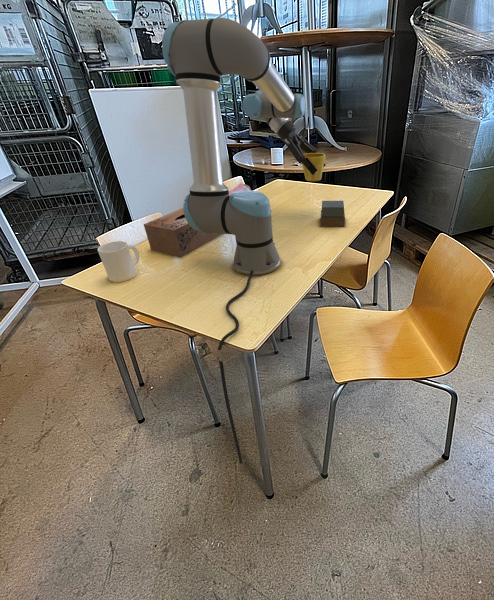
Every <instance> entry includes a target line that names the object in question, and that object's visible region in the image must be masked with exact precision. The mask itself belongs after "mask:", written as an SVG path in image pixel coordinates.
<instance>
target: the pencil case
mask: <svg viewBox="0 0 494 600" xmlns="http://www.w3.org/2000/svg"><path fill="white" fill-rule="evenodd" d="M238 190H243V191H244V190H252V189H251V187H250V186H249V185H248V184H245V183H241V182H240V183H239V184H238V185H236V187H234V188H233V189H230V190H229V196H230V194H231V193H232V192H234V191H238Z"/></svg>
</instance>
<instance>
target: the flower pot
mask: <svg viewBox="0 0 494 600" xmlns="http://www.w3.org/2000/svg"><path fill="white" fill-rule="evenodd" d="M303 154H304V156H305V158H306V157H307V158H308V159H309V160H310V162H311V163H312V164H313V165H314V166H315V167H316V169H317V172H316V173H315V174H314V175H312V174H311V173H310V171H309V170H308V169H307V168H306V167H305V166H304V164H303V163H302V162H301V163H300V165H301V166H302V171H303V174H304V178H305V181H307V182H318V181H319V182H320V181H321V180H322V177H323V171H324V167H325V166H324V164H326V154H325V153H323V152H322V153H321V152H316V153H303ZM323 166H324V167H323Z"/></svg>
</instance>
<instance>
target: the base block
mask: <svg viewBox="0 0 494 600" xmlns="http://www.w3.org/2000/svg"><path fill="white" fill-rule="evenodd" d="M319 217H320V218H319V219H320V220H319V221H320V226H319V227H320V228H324V227H326V228H329V227H331V228H344V227H345V226H346V213H345V212H344V217H322V209H320V216H319Z"/></svg>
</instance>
